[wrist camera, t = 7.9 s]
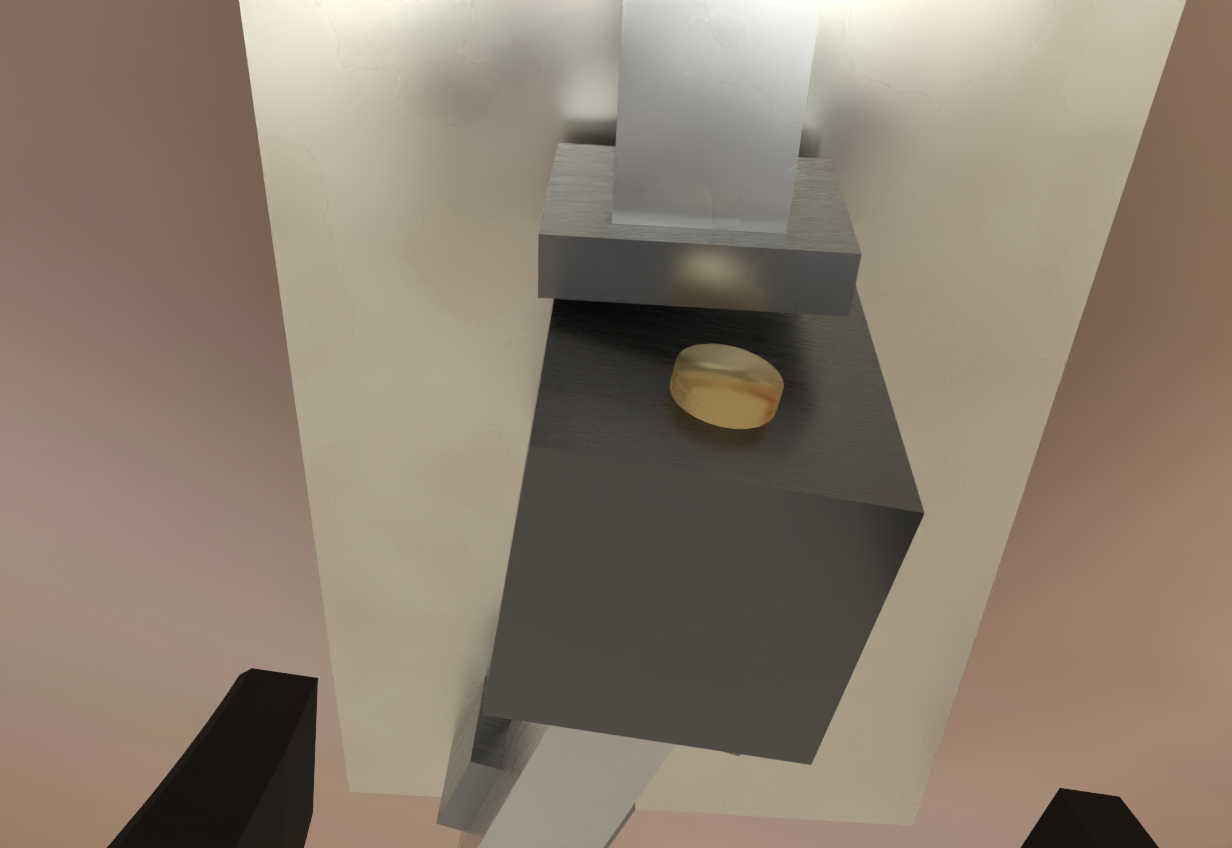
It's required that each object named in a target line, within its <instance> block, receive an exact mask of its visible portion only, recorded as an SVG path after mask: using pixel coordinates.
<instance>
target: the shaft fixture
mask: <svg viewBox="0 0 1232 848" xmlns="http://www.w3.org/2000/svg"><path fill="white" fill-rule="evenodd" d="M1185 2H1186V0H239V3H240V11H241V18H242V25H243V32H244V39H245V46H246V54H247V61H248V68H249V75H250V82H251V89H252V97H253V104H254V111H255V118H256V125H257V132H258V140H259V147H260V154H261V161H262V168H263V175H264V183H265V190H266V197H267V204H268V211H269V218H270V226H271V233H272V240H273V247H274V254H275V261H276V269H277V276H278V283H279V290H280V297H281V305H282V312H283V319H284V326H285V333H286V340H287V348H288V355H289V362H290V369H291V376H292V383H293V391H294V398H295V405H296V412H297V419H298V426H299V434H300V441H301V448H302V455H303V462H304V469H305V477H306V484H307V491H308V498H309V505H310V512H311V520H312V527H313V534H314V541H315V548H316V555H317V563H318V570H319V577H320V584H321V591H322V598H323V606H324V613H325V620H326V627H327V634H328V641H329V649H330V656H331V663H332V670H333V677H334V684H335V692H336V699H337V706H338V713H339V720H340V727H341V735H342V742H343V749H344V756H345V763H346V770H347V778H348V785H349V791H350V792H366V793H383V794H399V795H415V796H432V797H442V798H441V803H440V808H439V813H438V819H437V824H440V825H443V826H447V827H450V828H454V829H458V830H461V834H460V840H459V845H458V848H608V847H609V846H610V845H611V843H612V842H613V840H614V839H615V838H616V836H617V835H618V833H619V832H620V830H621V829H622V828H623V826H624V825H625V823H626V822H627V821H628V819H629V818H630V816H631V815H632V813H633V812H634V811H635V809H644V810H661V811H677V812H694V813H710V814H726V815H743V816H759V817H775V818H792V819H808V820H824V821H841V822H857V823H874V824H890V825H906V826H913V825H914V822H915V819H916V816H917V813H918V810H919V806H920V803H921V800H922V797H923V794H924V791H925V788H926V785H927V782H928V779H929V776H930V773H931V770H932V767H933V764H934V761H935V758H936V755H937V752H938V749H939V746H940V743H941V740H942V737H943V734H944V731H945V728H946V725H947V722H948V719H949V716H950V713H951V710H952V707H953V704H954V701H955V698H956V695H957V692H958V689H959V686H960V683H961V680H962V677H963V673H964V670H965V667H966V664H967V661H968V658H969V655H970V652H971V649H972V646H973V643H974V640H975V637H976V634H977V631H978V628H979V625H980V622H981V619H982V616H983V613H984V610H985V607H986V604H987V601H988V598H989V595H990V592H991V589H992V586H993V583H994V580H995V577H996V574H997V571H998V568H999V565H1000V562H1001V559H1002V556H1003V553H1004V550H1005V547H1006V543H1007V540H1008V537H1009V534H1010V531H1011V528H1012V525H1013V522H1014V519H1015V516H1016V513H1017V510H1018V507H1019V504H1020V501H1021V498H1022V495H1023V492H1024V489H1025V486H1026V483H1027V480H1028V477H1029V474H1030V471H1031V468H1032V465H1033V462H1034V459H1035V456H1036V453H1037V450H1038V447H1039V444H1040V441H1041V438H1042V435H1043V432H1044V429H1045V426H1046V423H1047V420H1048V417H1049V414H1050V410H1051V407H1052V404H1053V401H1054V398H1055V395H1056V392H1057V389H1058V386H1059V383H1060V380H1061V377H1062V374H1063V371H1064V368H1065V365H1066V362H1067V359H1068V356H1069V353H1070V350H1071V347H1072V344H1073V341H1074V338H1075V335H1076V332H1077V329H1078V326H1079V323H1080V320H1081V317H1082V314H1083V311H1084V308H1085V305H1086V302H1087V299H1088V296H1089V293H1090V290H1091V287H1092V284H1093V280H1094V277H1095V274H1096V271H1097V268H1098V265H1099V262H1100V259H1101V256H1102V253H1103V250H1104V247H1105V244H1106V241H1107V238H1108V235H1109V232H1110V229H1111V226H1112V223H1113V220H1114V217H1115V214H1116V211H1117V208H1118V205H1119V202H1120V199H1121V196H1122V193H1123V190H1124V187H1125V184H1126V181H1127V178H1128V175H1129V172H1130V169H1131V166H1132V163H1133V160H1134V157H1135V154H1136V150H1137V147H1138V144H1139V141H1140V138H1141V135H1142V132H1143V129H1144V126H1145V123H1146V120H1147V117H1148V114H1149V111H1150V108H1151V105H1152V102H1153V99H1154V96H1155V93H1156V90H1157V87H1158V84H1159V81H1160V78H1161V75H1162V72H1163V69H1164V66H1165V63H1166V60H1167V57H1168V54H1169V51H1170V48H1171V45H1172V42H1173V39H1174V36H1175V33H1176V30H1177V27H1178V24H1179V21H1180V17H1181V14H1182V11H1183V8H1184V5H1185ZM855 285H856V288H857V291H858V294H859V298H860V301H861V304H862V308H863V311H864V314H865V318H866V321H867V324H868V328H869V331H870V334H871V337H872V341H873V344H874V347H875V351H876V354H877V357H878V361H879V364H880V367H881V371H882V374H883V377H884V380H885V384H886V387H887V390H888V394H889V397H890V400H891V404H892V407H893V410H894V414H895V417H896V420H897V423H898V427H899V430H900V433H901V437H902V440H903V443H904V447H905V450H906V453H907V457H908V460H909V463H910V466H911V470H912V473H913V476H914V480H915V483H916V486H917V490H918V493H919V496H920V500H921V503H922V506H923V509H924V513H925V514H924V516H923V518H922V520H921V523H920V525H919V527H918V529H917V532H916V534H915V536H914V538H913V540H912V543H911V545H910V547H909V549H908V552H907V554H906V556H905V558H904V560H903V563H902V565H901V567H900V569H899V571H898V574H897V576H896V578H895V580H894V583H893V585H892V587H891V589H890V591H889V594H888V596H887V598H886V600H885V603H884V605H883V607H882V609H881V611H880V614H879V616H878V618H877V620H876V623H875V625H874V627H873V629H872V631H871V634H870V636H869V638H868V640H867V642H866V645H865V647H864V649H863V651H862V654H861V656H860V658H859V660H858V662H857V665H856V667H855V669H854V671H853V674H852V676H851V678H850V680H849V682H848V685H847V687H846V689H845V691H844V694H843V696H842V698H841V700H840V702H839V705H838V707H837V709H836V711H835V713H834V716H833V718H832V720H831V722H830V725H829V727H828V729H827V731H826V733H825V736H824V738H823V740H822V742H821V745H820V747H819V749H818V751H817V753H816V756H815V758H814V760H813V762H812V765H808V764H801V763H795V762H788V761H781V760H775V759H768V758H762V757H755V756H748V755H742V754H735V753H729V752H722V751H716V750H709V749H702V748H696V747H689V746H683V745H676V744H670V743H663V742H656V741H650V740H643V739H637V738H630V737H624V736H617V735H610V734H604V733H597V732H591V731H584V730H577V729H571V728H564V727H558V726H551V725H545V724H538V723H531V722H525V721H518V720H512V719H505V718H499V717H492V716H485V715H482V711H483V705H484V699H485V693H486V687H487V682H488V676H489V670H490V664H491V658H492V652H493V647H494V641H495V635H496V629H497V623H498V617H499V611H500V606H501V600H502V594H503V588H504V582H505V576H506V571H507V565H508V559H509V553H510V547H511V541H512V536H513V530H514V524H515V518H516V512H517V506H518V500H519V495H520V489H521V483H522V477H523V471H524V465H525V460H526V454H527V448H528V442H529V436H530V430H531V424H532V419H533V413H534V407H535V402H536V396H537V390H538V385H539V379H540V373H541V367H542V362H543V356H544V350H545V345H546V339H547V333H548V327H549V322H550V316H551V310H552V305H553V299H567V300H583V301H600V302H616V303H633V304H649V305H665V306H682V307H698V308H715V309H731V310H748V311H764V312H781V313H797V314H813V315H830V316H846V317H849V316H850V311H851V306H852V301H853V296H854V291H855Z"/></svg>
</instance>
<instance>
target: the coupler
mask: <svg viewBox="0 0 1232 848" xmlns="http://www.w3.org/2000/svg"><path fill="white" fill-rule="evenodd" d="M924 514H925V513H924V509H923V506H922V503H921V500H920V496H919V493H918V490H917V486H916V483H915V480H914V476H913V473H912V470H911V466H910V463H909V460H908V457H907V453H906V450H905V447H904V443H903V440H902V437H901V433H900V430H899V427H898V423H897V420H896V417H895V414H894V410H893V407H892V404H891V400H890V397H889V394H888V390H887V387H886V384H885V380H884V377H883V374H882V371H881V367H880V364H879V361H878V357H877V354H876V351H875V347H874V344H873V341H872V337H871V334H870V331H869V328H868V324H867V321H866V318H865V314H864V311H863V308H862V304H861V301H860V298H859V294H858V291H857V288H856V285H855V291H854V296H853V301H852V306H851V311H850V316H849V317H846V316H830V315H813V314H797V313H781V312H764V311H748V310H731V309H715V308H698V307H682V306H665V305H649V304H633V303H616V302H600V301H583V300H567V299H553V305H552V310H551V316H550V322H549V327H548V333H547V339H546V345H545V350H544V356H543V362H542V367H541V373H540V379H539V385H538V390H537V396H536V402H535V407H534V413H533V419H532V424H531V430H530V436H529V442H528V448H527V454H526V460H525V465H524V471H523V477H522V483H521V489H520V495H519V500H518V506H517V512H516V518H515V524H514V530H513V536H512V541H511V547H510V553H509V559H508V565H507V571H506V576H505V582H504V588H503V594H502V600H501V606H500V611H499V617H498V623H497V629H496V635H495V641H494V647H493V652H492V658H491V664H490V670H489V676H488V682H487V687H486V693H485V699H484V705H483V711H482V715H485V716H492V717H499V718H505V719H512V720H518V721H525V722H531V723H538V724H545V725H551V726H558V727H564V728H571V729H577V730H584V731H591V732H597V733H604V734H610V735H617V736H624V737H630V738H637V739H643V740H650V741H656V742H663V743H670V744H676V745H683V746H689V747H696V748H702V749H709V750H716V751H722V752H729V753H735V754H742V755H748V756H755V757H762V758H768V759H775V760H781V761H788V762H795V763H801V764H808V765H812V762H813V760H814V758H815V756H816V753H817V751H818V749H819V747H820V745H821V742H822V740H823V738H824V736H825V733H826V731H827V729H828V727H829V725H830V722H831V720H832V718H833V716H834V713H835V711H836V709H837V707H838V705H839V702H840V700H841V698H842V696H843V694H844V691H845V689H846V687H847V685H848V682H849V680H850V678H851V676H852V674H853V671H854V669H855V667H856V665H857V662H858V660H859V658H860V656H861V654H862V651H863V649H864V647H865V645H866V642H867V640H868V638H869V636H870V634H871V631H872V629H873V627H874V625H875V623H876V620H877V618H878V616H879V614H880V611H881V609H882V607H883V605H884V603H885V600H886V598H887V596H888V594H889V591H890V589H891V587H892V585H893V583H894V580H895V578H896V576H897V574H898V571H899V569H900V567H901V565H902V563H903V560H904V558H905V556H906V554H907V552H908V549H909V547H910V545H911V543H912V540H913V538H914V536H915V534H916V532H917V529H918V527H919V525H920V523H921V520H922V518H923V516H924Z"/></svg>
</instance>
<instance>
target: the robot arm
mask: <svg viewBox="0 0 1232 848" xmlns="http://www.w3.org/2000/svg"><path fill="white" fill-rule="evenodd" d="M317 685H318V678H314V677H307V676H300V675H294V674H287V673H280V672H273V671H267V670H260V669H253V668H252V669H250V670H248V671H246V672H244V673H242V674H240V675H239V677H238V678H237V680H236V681H235V683H234V684H233V686H232V687H231V689H230V690H229V692H228V693H227V695H226V696H225V698H224V699H223V701H222V702H221V703H220V705H219V706H218V708H217V709H216V710H215V712H214V713H213V715H212V716H211V717H210V719H209V720H208V722H207V723H206V724H205V726H204V727H203V729H202V730H201V731H200V733H199V734H198V735H197V737H196V738H195V739H194V741H193V742H192V743H191V745H190V746H189V747H188V749H187V750H186V751H185V753H184V754H183V755H182V757H181V758H180V759H179V760H178V762H177V763H176V764H175V766H174V767H173V768H172V769H171V771H170V772H169V773H168V774H167V776H166V777H165V778H164V779H163V781H162V782H161V783H160V785H159V786H158V787H157V788H156V790H155V791H154V792H153V793H152V795H151V796H150V797H149V798H148V800H147V801H146V802H145V803H144V804H143V806H142V807H141V808H140V809H139V810H138V812H137V813H136V814H135V815H134V816H133V817H132V819H131V820H130V821H129V822H128V823H127V825H126V826H125V827H124V828H123V829H122V830H121V832H120V833H119V834H118V835H117V836H116V838H115V839H114V840H113V841H112V842H111V844H110V845H109V846H108V847H107V848H304V845H305V841H306V837H307V833H308V829H309V826H310V822H311V818H312V814H313V793H314V766H315V739H316V712H317ZM1021 848H1159V847H1158V846H1157V845H1156V843H1155V842H1154V841H1153V839H1152V838H1151V837H1150V835H1149V834H1148V833H1147V832H1146V830H1145V829H1144V828H1143V826H1142V825H1141V824H1140V822H1139V821H1138V820H1137V818H1136V817H1135V816H1134V815H1133V813H1132V812H1131V811H1130V809H1129V808H1128V807H1127V806H1126V804H1125V803H1124V802H1123V801H1122V799H1121V798H1120V797H1118V796H1111V795H1104V794H1097V793H1091V792H1084V791H1077V790H1070V789H1064V788H1059V790H1058V792H1057V793H1056V795H1055V796H1054V798H1053V799H1052V801H1051V802H1050V804H1049V805H1048V807H1047V808H1046V810H1045V811H1044V813H1043V814H1042V816H1041V818H1040V819H1039V821H1038V822H1037V824H1036V825H1035V827H1034V828H1033V830H1032V831H1031V833H1030V834H1029V836H1028V837H1027V839H1026V840H1025V842H1024V844H1023V845H1022V847H1021Z"/></svg>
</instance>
